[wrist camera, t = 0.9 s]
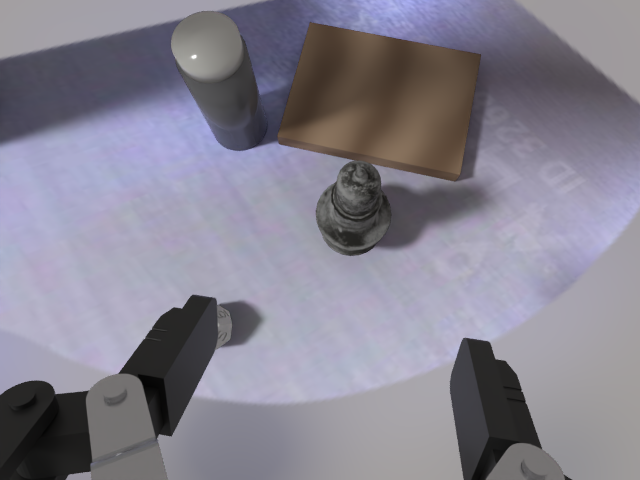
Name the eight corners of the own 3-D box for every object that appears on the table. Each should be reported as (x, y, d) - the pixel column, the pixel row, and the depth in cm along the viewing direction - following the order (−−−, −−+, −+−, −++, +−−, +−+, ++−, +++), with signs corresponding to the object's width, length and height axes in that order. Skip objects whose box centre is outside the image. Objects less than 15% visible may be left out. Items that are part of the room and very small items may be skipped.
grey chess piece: (364, 182, 38) (380, 109, 26) (398, 239, 37) (429, 189, 25) (305, 212, 38) (294, 151, 26) (337, 271, 36) (340, 235, 25)
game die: (241, 310, 36) (233, 306, 33) (229, 355, 35) (220, 356, 32) (200, 300, 36) (189, 296, 33) (187, 345, 35) (175, 345, 32)
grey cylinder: (206, 144, 39) (157, 65, 28) (221, 96, 40) (181, 2, 29) (258, 155, 39) (230, 79, 28) (273, 107, 40) (251, 15, 29)
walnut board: (279, 144, 39) (277, 136, 38) (310, 33, 42) (310, 22, 40) (455, 181, 38) (460, 174, 36) (475, 64, 41) (481, 54, 39)
